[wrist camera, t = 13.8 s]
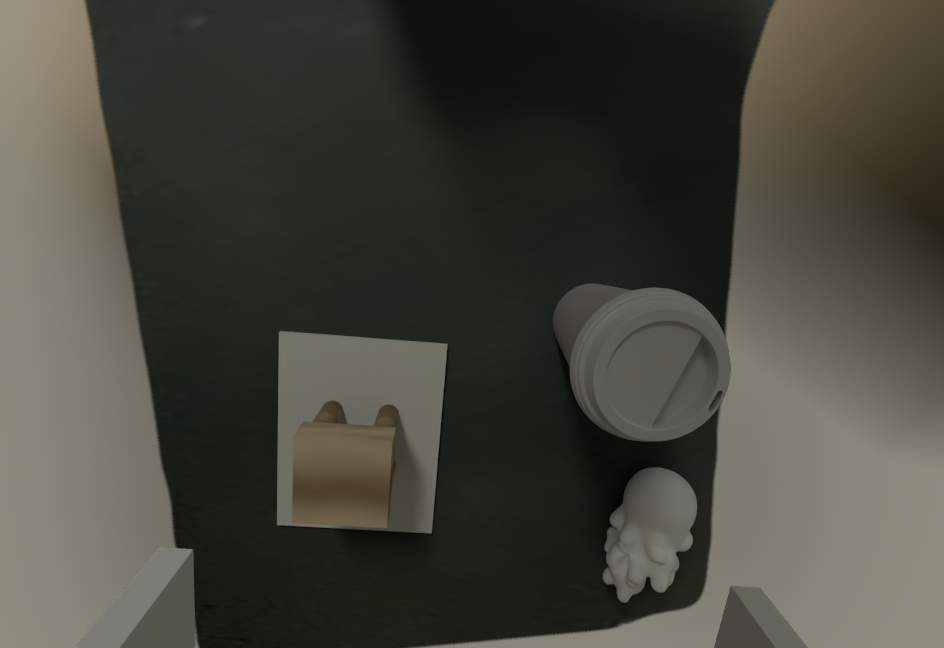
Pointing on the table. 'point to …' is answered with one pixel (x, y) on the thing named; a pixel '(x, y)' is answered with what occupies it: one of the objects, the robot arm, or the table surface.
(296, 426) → the mat
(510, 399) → the table surface
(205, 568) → the table surface
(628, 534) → the figurine
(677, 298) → the coffee cup
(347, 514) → the wooden stool
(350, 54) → the table surface
